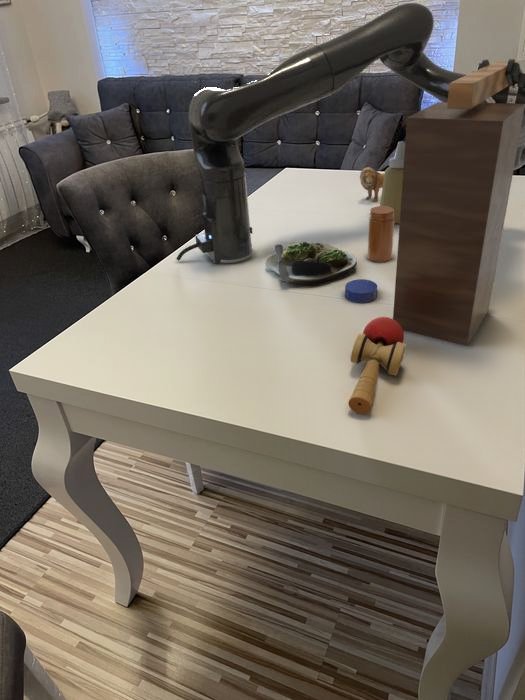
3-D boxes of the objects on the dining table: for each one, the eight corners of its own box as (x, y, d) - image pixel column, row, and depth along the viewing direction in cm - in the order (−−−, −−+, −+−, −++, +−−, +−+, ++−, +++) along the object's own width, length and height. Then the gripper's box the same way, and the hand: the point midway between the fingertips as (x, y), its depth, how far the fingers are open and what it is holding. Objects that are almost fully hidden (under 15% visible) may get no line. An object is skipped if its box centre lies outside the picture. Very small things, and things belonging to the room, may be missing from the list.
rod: (470, 109, 67) (474, 82, 65) (446, 108, 68) (449, 82, 67) (512, 83, 82) (516, 61, 80) (492, 83, 83) (495, 61, 82)
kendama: (395, 427, 69) (416, 340, 81) (387, 391, 65) (410, 306, 78) (337, 423, 72) (366, 340, 85) (327, 389, 69) (358, 308, 81)
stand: (467, 345, 81) (503, 120, 64) (392, 327, 87) (406, 117, 70) (488, 311, 89) (525, 103, 72) (418, 297, 95) (437, 102, 78)
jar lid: (355, 285, 101) (355, 276, 100) (382, 293, 98) (383, 283, 97) (339, 297, 97) (339, 288, 96) (366, 305, 94) (367, 296, 93)
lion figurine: (366, 206, 139) (367, 170, 134) (354, 201, 143) (355, 166, 138) (410, 194, 144) (413, 160, 139) (397, 190, 148) (399, 156, 143)
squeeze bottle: (416, 224, 125) (423, 144, 115) (381, 227, 126) (386, 147, 116) (409, 213, 132) (415, 136, 122) (376, 215, 132) (379, 139, 123)
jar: (375, 263, 109) (377, 215, 103) (362, 255, 113) (364, 208, 107) (396, 258, 110) (400, 210, 104) (383, 250, 114) (386, 204, 108)
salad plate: (244, 262, 114) (242, 241, 111) (313, 241, 121) (313, 222, 118) (292, 295, 99) (291, 272, 97) (368, 270, 106) (369, 248, 104)
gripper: (548, 135, 89) (541, 93, 74) (463, 131, 96) (440, 92, 81) (561, 89, 88) (557, 37, 73) (474, 88, 95) (453, 40, 80)
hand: (496, 66), depth 77 cm, fingers closed on rod, 3 cm apart
